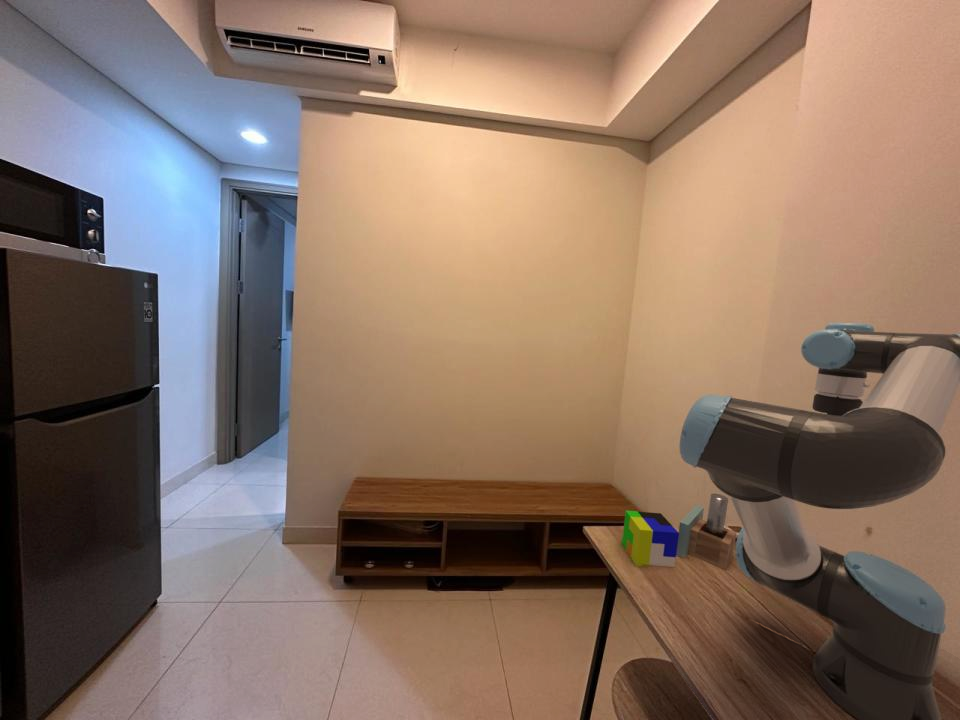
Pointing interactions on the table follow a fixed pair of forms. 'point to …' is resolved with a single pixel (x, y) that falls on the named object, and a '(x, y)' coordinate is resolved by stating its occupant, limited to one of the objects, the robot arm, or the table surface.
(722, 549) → the brown wooden box
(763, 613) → the table surface
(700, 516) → the backstop
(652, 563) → the puzzle toy
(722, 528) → the dowel
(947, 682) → the table surface
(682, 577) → the table surface
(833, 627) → the robot arm
